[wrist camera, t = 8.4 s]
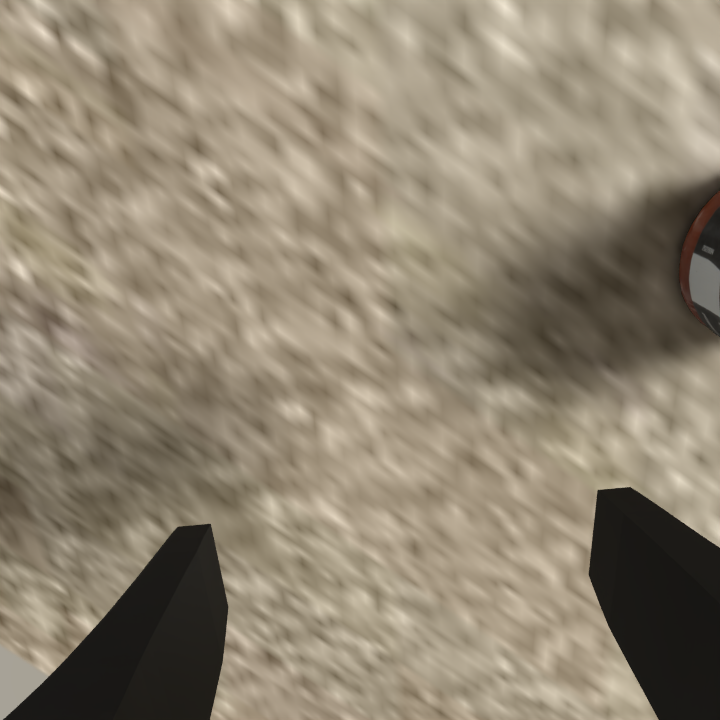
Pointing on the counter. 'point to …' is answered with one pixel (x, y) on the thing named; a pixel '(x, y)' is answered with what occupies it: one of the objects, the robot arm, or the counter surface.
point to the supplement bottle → (703, 266)
